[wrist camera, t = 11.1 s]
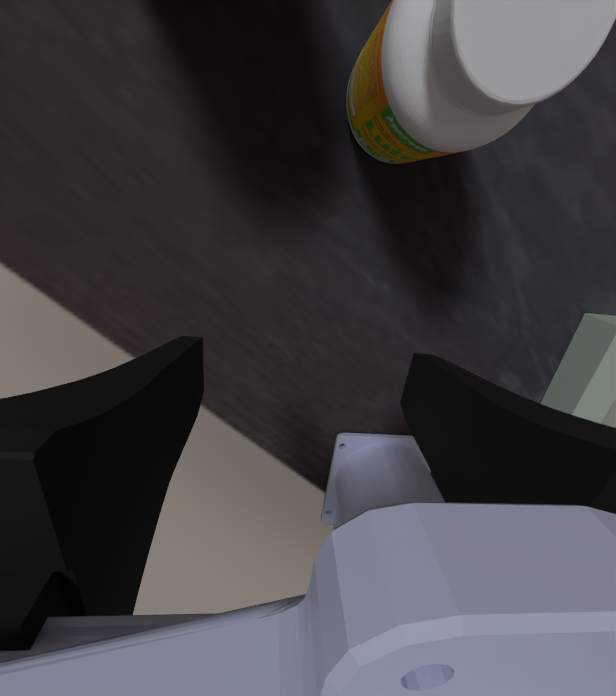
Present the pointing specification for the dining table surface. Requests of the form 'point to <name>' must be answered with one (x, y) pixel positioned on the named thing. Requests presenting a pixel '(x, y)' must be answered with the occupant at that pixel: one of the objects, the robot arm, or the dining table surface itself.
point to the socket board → (586, 371)
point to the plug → (610, 416)
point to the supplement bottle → (465, 70)
